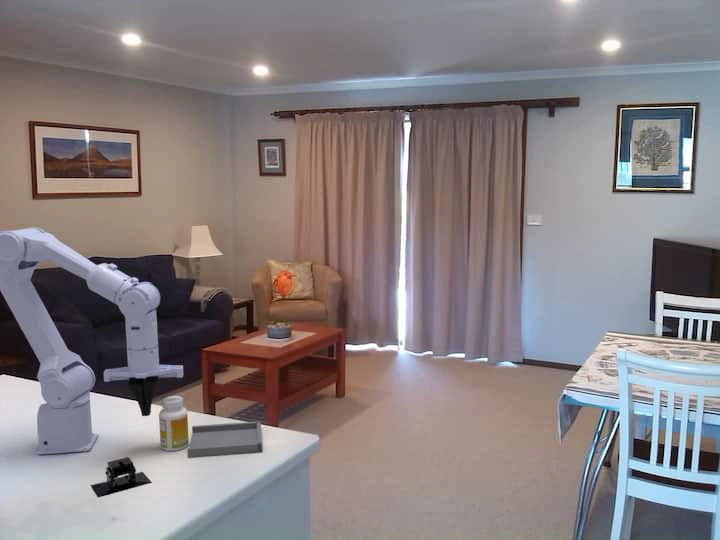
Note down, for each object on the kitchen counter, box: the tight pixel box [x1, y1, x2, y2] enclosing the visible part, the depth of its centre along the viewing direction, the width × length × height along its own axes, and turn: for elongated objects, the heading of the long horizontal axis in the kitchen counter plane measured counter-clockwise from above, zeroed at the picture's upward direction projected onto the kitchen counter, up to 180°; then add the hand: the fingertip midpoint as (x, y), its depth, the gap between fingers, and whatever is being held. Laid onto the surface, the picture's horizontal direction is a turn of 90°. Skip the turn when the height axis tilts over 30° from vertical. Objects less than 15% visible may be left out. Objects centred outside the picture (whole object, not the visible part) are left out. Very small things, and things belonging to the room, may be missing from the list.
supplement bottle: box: [158, 395, 190, 452], centre depth 130 cm, size 5×5×10 cm
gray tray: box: [186, 421, 263, 458], centre depth 132 cm, size 14×12×2 cm
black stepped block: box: [90, 456, 153, 498], centre depth 114 cm, size 12×7×5 cm, turn 125°
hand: (146, 414), depth 128 cm, fingers closed
